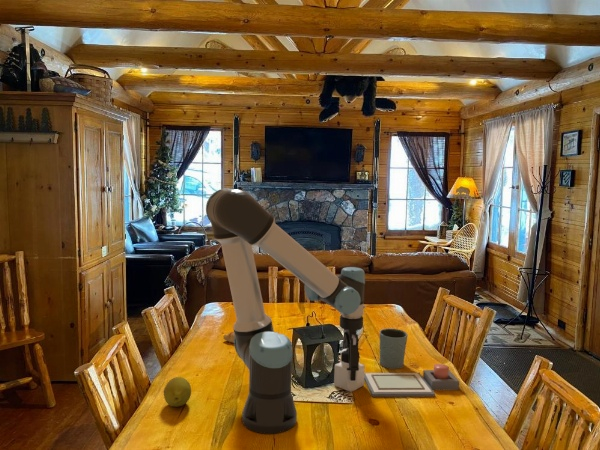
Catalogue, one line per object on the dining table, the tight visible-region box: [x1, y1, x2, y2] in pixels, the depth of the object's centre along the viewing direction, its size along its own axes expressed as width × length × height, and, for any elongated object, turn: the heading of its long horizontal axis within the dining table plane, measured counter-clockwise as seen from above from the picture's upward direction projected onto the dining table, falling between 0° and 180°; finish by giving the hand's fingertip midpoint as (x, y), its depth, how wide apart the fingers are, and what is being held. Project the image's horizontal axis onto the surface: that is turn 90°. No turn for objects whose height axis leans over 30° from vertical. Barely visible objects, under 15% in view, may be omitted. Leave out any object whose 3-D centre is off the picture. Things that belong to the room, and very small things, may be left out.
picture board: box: [364, 372, 436, 398], centre depth 160 cm, size 16×20×2 cm
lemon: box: [163, 376, 192, 408], centre depth 142 cm, size 11×8×8 cm
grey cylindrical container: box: [379, 328, 408, 370], centre depth 177 cm, size 10×10×12 cm
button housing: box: [422, 369, 460, 391], centre depth 161 cm, size 9×9×3 cm
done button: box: [433, 363, 450, 379], centre depth 161 cm, size 5×5×4 cm
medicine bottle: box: [333, 348, 366, 393], centre depth 158 cm, size 7×7×12 cm
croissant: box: [222, 331, 235, 344], centre depth 198 cm, size 21×10×8 cm, turn 93°
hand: (349, 382), depth 158 cm, fingers closed on medicine bottle, 10 cm apart
